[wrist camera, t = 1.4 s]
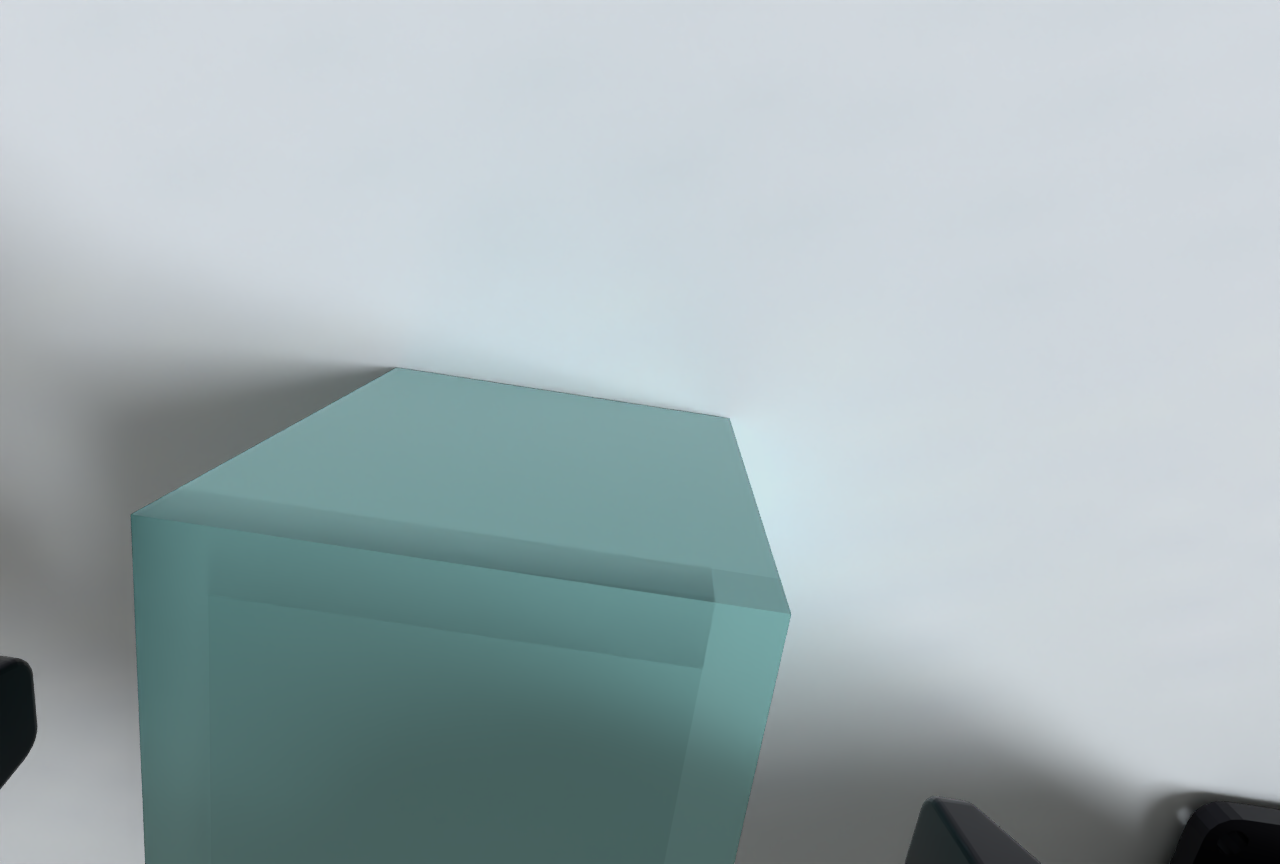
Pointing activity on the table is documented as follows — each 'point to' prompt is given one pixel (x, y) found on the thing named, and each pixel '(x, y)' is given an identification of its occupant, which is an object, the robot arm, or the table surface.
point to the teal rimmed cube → (458, 636)
